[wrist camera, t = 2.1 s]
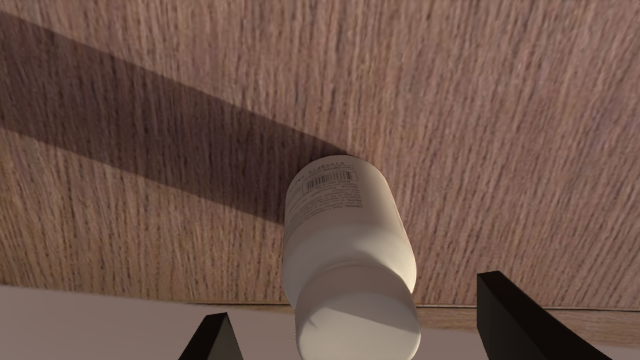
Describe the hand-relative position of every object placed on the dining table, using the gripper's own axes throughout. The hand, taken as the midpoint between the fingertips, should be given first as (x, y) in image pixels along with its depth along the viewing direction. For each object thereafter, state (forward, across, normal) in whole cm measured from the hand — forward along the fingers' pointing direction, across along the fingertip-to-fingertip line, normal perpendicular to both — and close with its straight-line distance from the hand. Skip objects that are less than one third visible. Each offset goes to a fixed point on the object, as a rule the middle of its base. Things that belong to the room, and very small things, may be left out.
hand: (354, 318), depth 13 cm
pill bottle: (+7, 0, 0) cm, 7 cm away
